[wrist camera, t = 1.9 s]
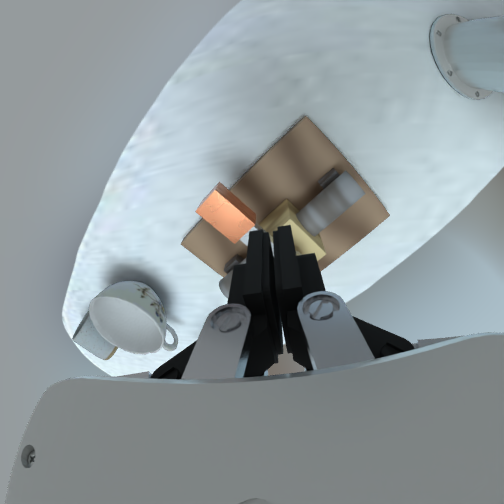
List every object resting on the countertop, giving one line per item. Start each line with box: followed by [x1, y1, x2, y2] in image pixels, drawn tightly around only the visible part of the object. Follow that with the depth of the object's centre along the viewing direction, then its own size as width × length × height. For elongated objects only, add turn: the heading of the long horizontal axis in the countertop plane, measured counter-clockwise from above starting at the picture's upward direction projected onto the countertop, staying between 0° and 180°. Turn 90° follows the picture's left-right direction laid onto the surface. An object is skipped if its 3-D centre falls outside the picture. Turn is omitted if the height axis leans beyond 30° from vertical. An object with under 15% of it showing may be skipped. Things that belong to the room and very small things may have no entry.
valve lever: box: [195, 182, 302, 256], centre depth 25 cm, size 12×3×2 cm, turn 47°
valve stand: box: [181, 116, 390, 298], centre depth 31 cm, size 22×16×8 cm
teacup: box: [89, 281, 178, 355], centre depth 39 cm, size 15×12×8 cm
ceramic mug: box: [72, 311, 118, 360], centre depth 43 cm, size 11×8×8 cm
